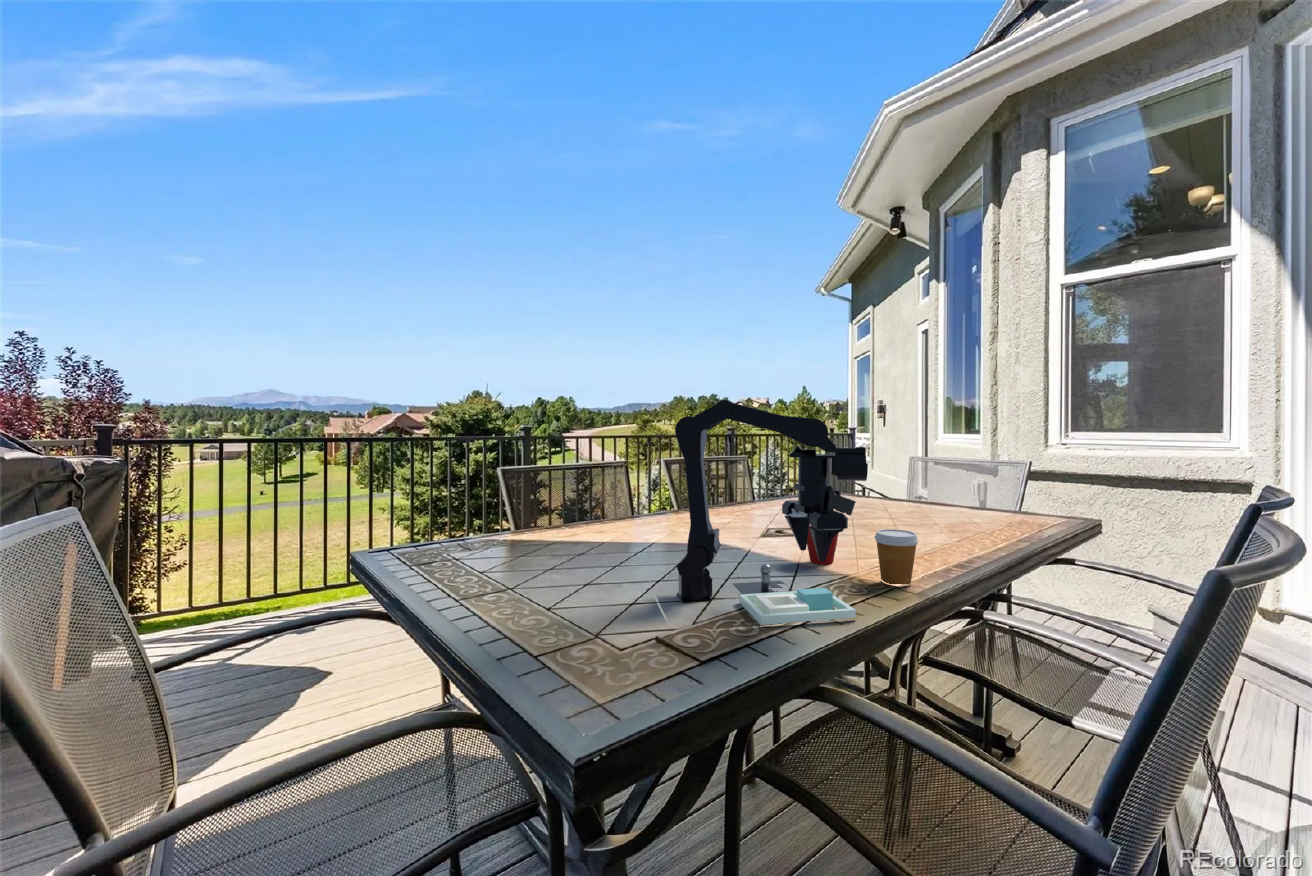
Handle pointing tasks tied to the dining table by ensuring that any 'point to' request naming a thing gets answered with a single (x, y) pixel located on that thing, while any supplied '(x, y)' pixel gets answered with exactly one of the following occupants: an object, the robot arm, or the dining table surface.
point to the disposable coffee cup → (896, 555)
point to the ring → (796, 601)
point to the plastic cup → (813, 553)
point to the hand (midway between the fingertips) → (812, 555)
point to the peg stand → (759, 583)
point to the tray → (779, 618)
